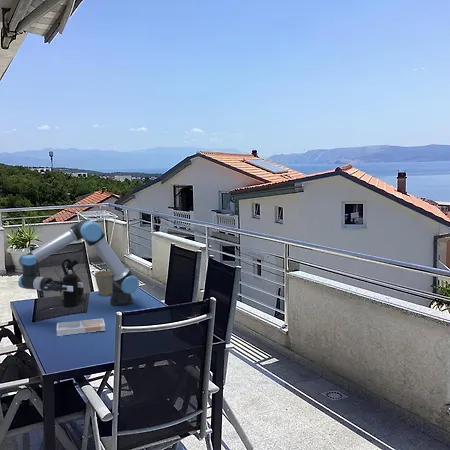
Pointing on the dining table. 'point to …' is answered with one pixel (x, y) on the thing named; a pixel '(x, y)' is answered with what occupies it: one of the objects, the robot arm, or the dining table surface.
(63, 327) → the tray
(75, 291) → the aerosol can
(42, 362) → the dining table surface
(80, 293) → the ceramic jug
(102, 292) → the plant pot
